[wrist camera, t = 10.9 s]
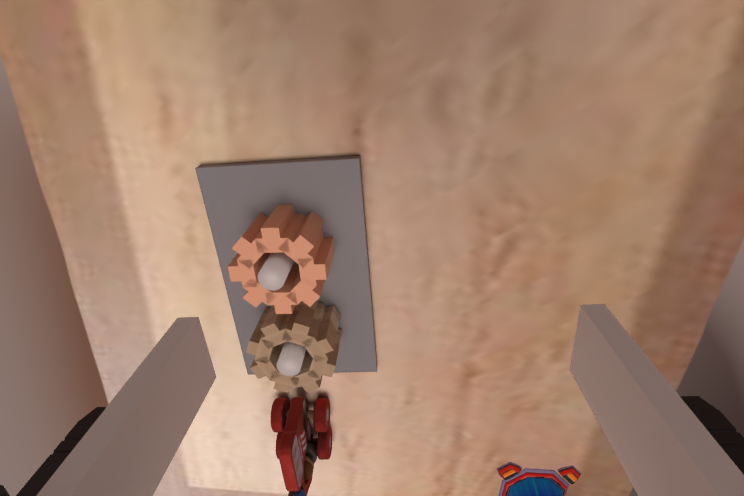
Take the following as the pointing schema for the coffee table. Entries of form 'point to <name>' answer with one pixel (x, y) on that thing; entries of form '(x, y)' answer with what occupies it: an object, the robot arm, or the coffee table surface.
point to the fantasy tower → (535, 481)
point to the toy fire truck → (300, 440)
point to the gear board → (306, 196)
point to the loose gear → (297, 242)
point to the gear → (302, 328)
